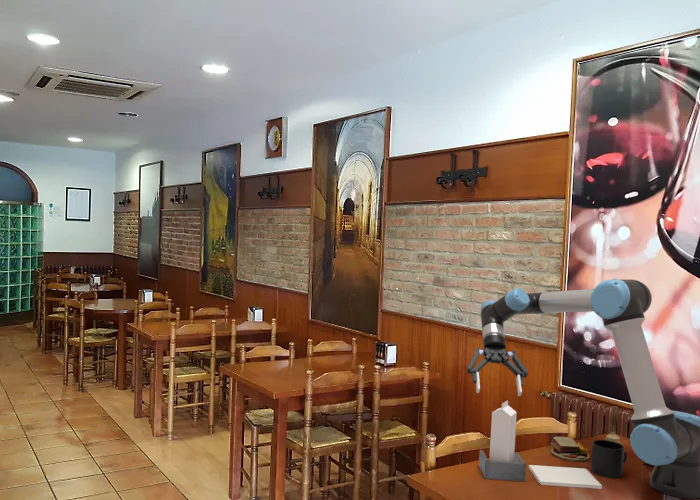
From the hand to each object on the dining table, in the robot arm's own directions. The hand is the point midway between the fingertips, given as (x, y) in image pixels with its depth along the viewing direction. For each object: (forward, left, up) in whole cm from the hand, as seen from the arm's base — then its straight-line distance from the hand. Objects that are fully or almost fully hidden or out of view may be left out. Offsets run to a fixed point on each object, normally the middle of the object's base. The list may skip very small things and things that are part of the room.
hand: (499, 392), depth 208 cm
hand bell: (-44, -17, -22) cm, 53 cm away
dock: (+1, +12, -22) cm, 25 cm away
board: (-18, +13, -22) cm, 32 cm away
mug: (-35, +5, -22) cm, 42 cm away
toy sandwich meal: (-27, -10, -23) cm, 36 cm away
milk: (+1, +12, -22) cm, 25 cm away
